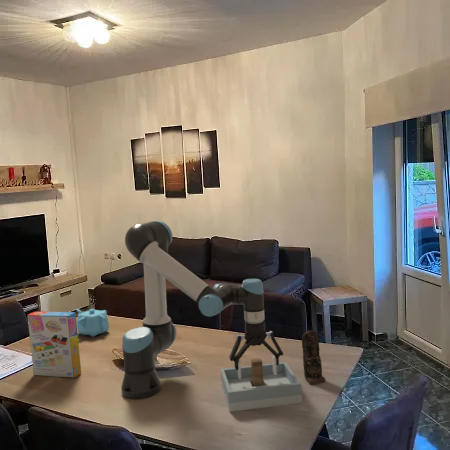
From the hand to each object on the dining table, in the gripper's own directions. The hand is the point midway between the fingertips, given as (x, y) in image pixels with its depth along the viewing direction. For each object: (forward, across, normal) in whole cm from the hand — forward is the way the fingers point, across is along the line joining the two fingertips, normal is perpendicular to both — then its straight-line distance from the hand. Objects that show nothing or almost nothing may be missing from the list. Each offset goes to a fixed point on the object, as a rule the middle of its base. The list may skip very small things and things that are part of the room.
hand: (257, 375), depth 172 cm
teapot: (+6, -74, +90) cm, 117 cm away
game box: (+6, -81, +37) cm, 89 cm away
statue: (+6, +23, +3) cm, 24 cm away
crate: (+6, 0, -3) cm, 7 cm away
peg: (+6, 0, 0) cm, 6 cm away
